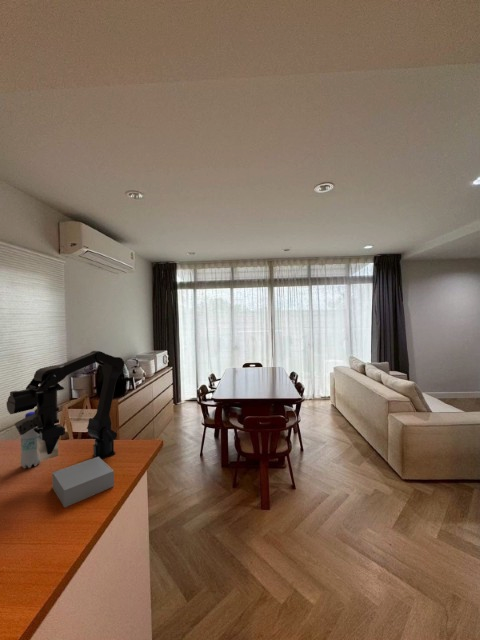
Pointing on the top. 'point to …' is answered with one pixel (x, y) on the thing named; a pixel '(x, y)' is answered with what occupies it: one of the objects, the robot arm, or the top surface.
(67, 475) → the plinth
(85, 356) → the robot arm
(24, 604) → the top surface
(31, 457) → the bottle
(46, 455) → the cream block
